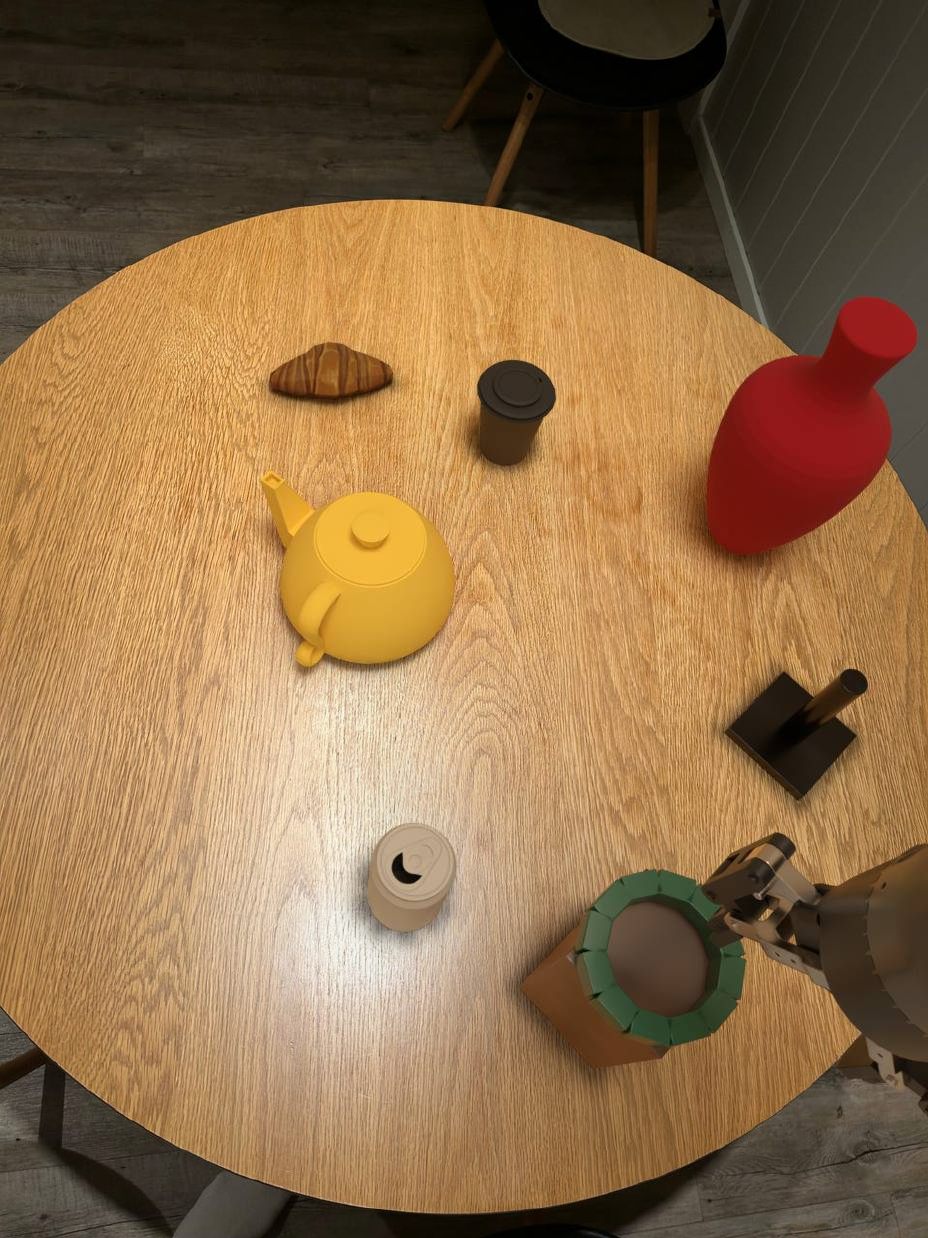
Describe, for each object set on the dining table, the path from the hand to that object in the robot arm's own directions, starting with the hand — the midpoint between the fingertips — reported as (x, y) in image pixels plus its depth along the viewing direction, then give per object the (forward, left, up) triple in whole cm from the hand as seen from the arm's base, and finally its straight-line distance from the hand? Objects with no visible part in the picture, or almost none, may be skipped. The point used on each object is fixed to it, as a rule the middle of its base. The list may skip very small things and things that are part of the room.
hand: (786, 992), depth 49 cm
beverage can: (+20, +6, -31) cm, 38 cm away
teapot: (+45, -9, -31) cm, 56 cm away
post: (+6, -31, -31) cm, 44 cm away
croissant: (+66, -25, -31) cm, 77 cm away
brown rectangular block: (+4, 0, -31) cm, 31 cm away
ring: (+4, 0, -13) cm, 14 cm away
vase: (+24, -46, -31) cm, 61 cm away
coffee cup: (+48, -34, -31) cm, 67 cm away
